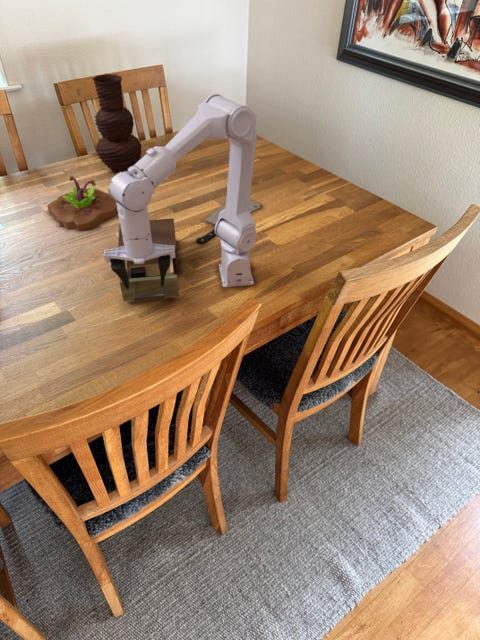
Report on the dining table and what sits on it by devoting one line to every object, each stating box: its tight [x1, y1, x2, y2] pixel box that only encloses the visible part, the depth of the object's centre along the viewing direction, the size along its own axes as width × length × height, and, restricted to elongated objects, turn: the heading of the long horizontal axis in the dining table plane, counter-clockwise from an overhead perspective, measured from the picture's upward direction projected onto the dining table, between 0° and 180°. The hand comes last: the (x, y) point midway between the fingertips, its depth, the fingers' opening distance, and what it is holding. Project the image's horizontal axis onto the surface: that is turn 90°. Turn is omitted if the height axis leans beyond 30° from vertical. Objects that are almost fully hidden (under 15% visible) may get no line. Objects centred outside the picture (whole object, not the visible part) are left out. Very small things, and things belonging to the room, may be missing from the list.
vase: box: [91, 73, 142, 174], centre depth 155 cm, size 15×15×30 cm
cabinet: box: [117, 217, 180, 273], centre depth 124 cm, size 15×15×8 cm
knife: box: [130, 267, 160, 279], centre depth 115 cm, size 9×2×3 cm, turn 99°
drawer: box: [119, 257, 180, 302], centre depth 113 cm, size 19×13×6 cm
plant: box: [46, 175, 118, 231], centre depth 140 cm, size 20×20×11 cm
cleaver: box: [195, 199, 261, 245], centre depth 141 cm, size 29×1×10 cm
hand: (145, 284), depth 102 cm, fingers open, 7 cm apart
